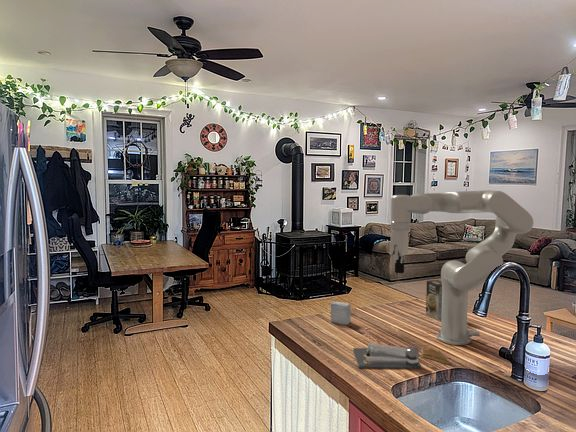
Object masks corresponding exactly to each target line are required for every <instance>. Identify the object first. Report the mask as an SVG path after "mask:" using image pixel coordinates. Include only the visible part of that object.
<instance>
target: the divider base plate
mask: <svg viewBox="0 0 576 432" xmlns="http://www.w3.org/2000/svg"><path fill="white" fill-rule="evenodd" d="M367 349H368V347H362V348H361V347H356V348H355V347H353V349H352V351H353V354H354V358H355V360H356V363H357V366H358V369H422V364H421V363H420V361H419V358H418V359H408V358H406V357H404V356H398V355H391V354H384V353H377V352H371V351H370V355H366V350H367Z"/></svg>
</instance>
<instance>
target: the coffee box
mask: <svg viewBox="0 0 576 432" xmlns="http://www.w3.org/2000/svg"><path fill="white" fill-rule="evenodd" d="M425 294H426V295H425V296H426V299H425V300H426V301H425V314H426V315H428V316H430V317H431V318H434V319H436V320H437V321H438V320H439V321H440V320H441V317H442V281H441V280H439V279H434V280H433V279H432V280H426V293H425Z"/></svg>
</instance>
